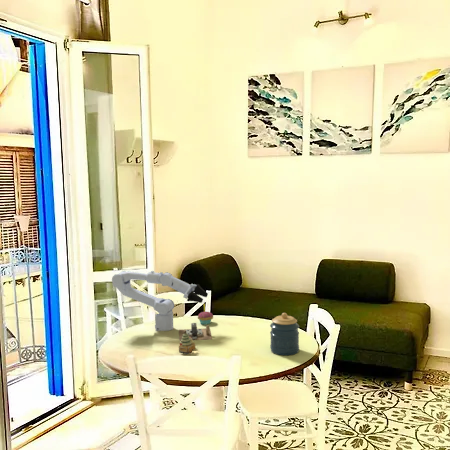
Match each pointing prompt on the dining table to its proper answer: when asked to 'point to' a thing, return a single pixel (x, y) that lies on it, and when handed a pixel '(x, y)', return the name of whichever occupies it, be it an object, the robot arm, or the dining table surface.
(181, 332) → the board
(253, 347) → the dining table surface
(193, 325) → the post
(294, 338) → the canister
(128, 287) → the robot arm
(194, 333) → the flange
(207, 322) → the cupcake
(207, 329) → the dowel
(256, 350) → the dining table surface
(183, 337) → the topped waffle
